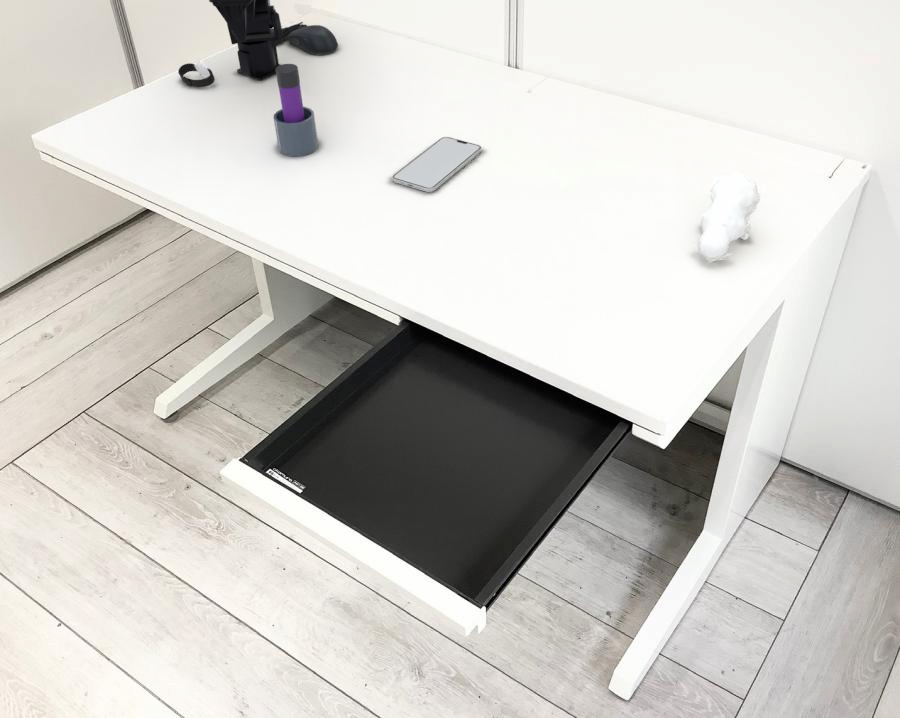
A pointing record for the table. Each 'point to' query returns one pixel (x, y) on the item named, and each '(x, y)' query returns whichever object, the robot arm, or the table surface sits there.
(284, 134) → the pen holder
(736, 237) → the white animal figurine
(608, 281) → the table surface
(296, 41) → the computer mouse
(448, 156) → the smartphone
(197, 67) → the watch
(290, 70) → the glue stick
